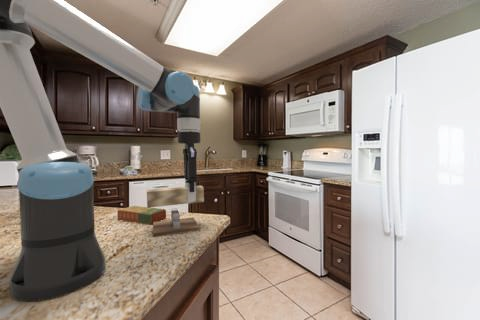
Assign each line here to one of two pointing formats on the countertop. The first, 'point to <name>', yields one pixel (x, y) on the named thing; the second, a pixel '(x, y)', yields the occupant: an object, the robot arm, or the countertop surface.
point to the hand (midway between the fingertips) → (190, 199)
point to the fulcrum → (174, 225)
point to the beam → (172, 196)
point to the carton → (141, 214)
